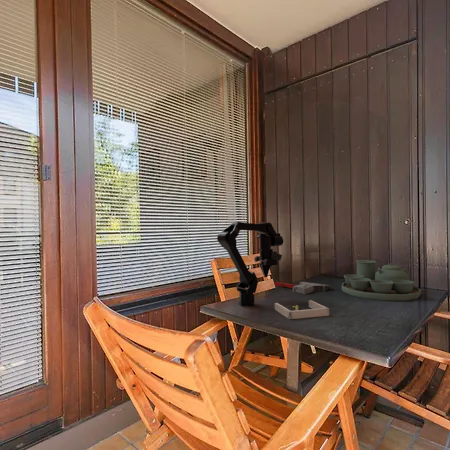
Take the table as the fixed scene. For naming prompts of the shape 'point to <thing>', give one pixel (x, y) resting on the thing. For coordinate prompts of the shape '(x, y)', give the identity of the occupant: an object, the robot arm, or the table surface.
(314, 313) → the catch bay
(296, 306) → the key
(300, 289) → the toy hammer
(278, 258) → the robot arm
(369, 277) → the tea set
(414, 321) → the table surface
